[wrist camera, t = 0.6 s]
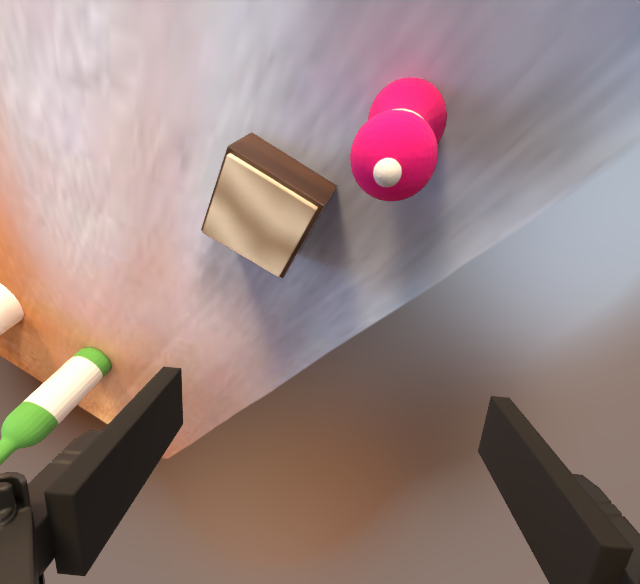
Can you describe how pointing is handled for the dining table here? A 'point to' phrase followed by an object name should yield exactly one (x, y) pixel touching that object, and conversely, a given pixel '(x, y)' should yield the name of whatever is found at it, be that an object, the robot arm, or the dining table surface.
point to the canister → (9, 310)
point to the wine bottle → (52, 401)
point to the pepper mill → (399, 140)
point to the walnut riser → (265, 204)
